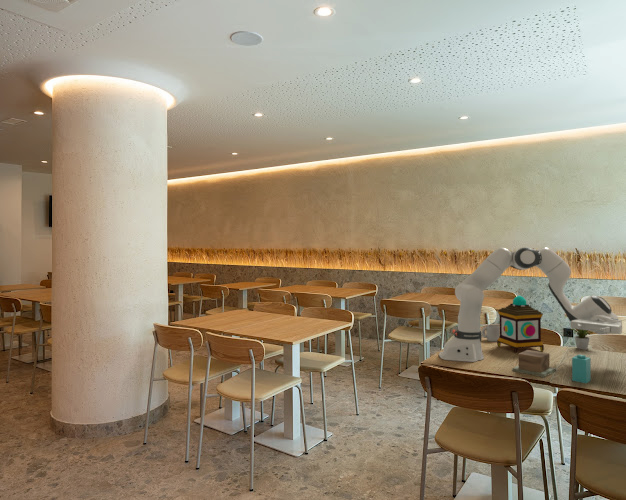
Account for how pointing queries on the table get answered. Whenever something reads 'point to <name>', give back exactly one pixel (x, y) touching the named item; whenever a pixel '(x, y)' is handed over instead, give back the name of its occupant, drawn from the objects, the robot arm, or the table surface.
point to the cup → (491, 333)
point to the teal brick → (581, 369)
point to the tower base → (534, 363)
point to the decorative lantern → (520, 325)
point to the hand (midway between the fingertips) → (590, 329)
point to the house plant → (582, 339)
